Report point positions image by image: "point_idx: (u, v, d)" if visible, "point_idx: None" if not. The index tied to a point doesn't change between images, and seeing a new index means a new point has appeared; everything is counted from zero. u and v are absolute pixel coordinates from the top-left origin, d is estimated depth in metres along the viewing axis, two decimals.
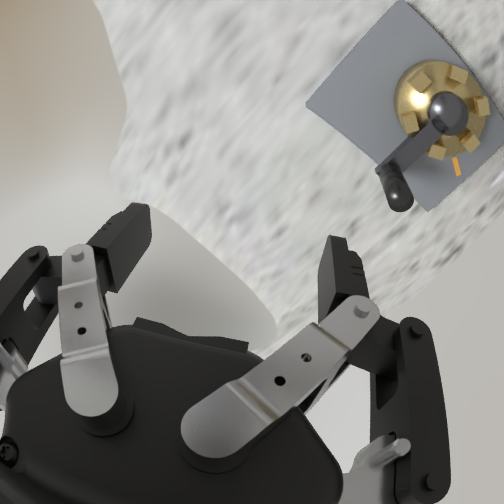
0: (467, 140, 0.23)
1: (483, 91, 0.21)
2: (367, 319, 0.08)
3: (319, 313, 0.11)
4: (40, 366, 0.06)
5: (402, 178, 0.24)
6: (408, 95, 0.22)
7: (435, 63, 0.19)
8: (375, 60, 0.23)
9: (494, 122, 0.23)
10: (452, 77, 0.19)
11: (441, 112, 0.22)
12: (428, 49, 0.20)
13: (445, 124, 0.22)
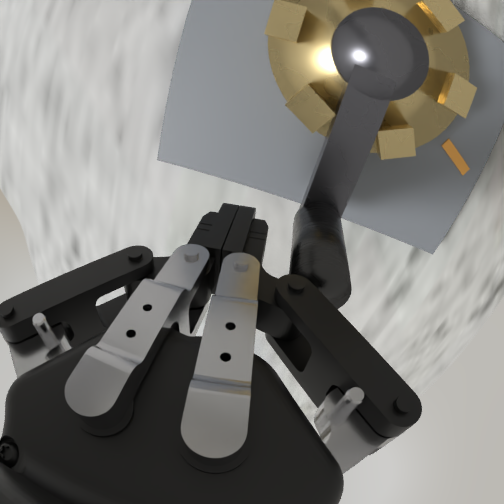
0: (448, 92, 0.10)
1: None
2: (242, 272, 0.09)
3: None
4: (40, 366, 0.06)
5: (321, 234, 0.12)
6: (283, 58, 0.12)
7: None
8: (219, 35, 0.13)
9: (487, 49, 0.10)
10: None
11: (361, 56, 0.10)
12: None
13: (383, 77, 0.10)
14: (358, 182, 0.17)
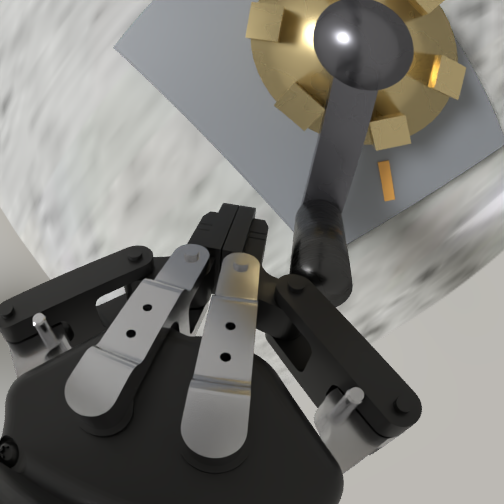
0: (437, 75, 0.10)
1: (457, 45, 0.11)
2: (242, 272, 0.09)
3: None
4: (40, 366, 0.06)
5: (319, 230, 0.12)
6: (267, 60, 0.12)
7: None
8: None
9: (475, 109, 0.13)
10: None
11: (344, 48, 0.10)
12: None
13: (368, 66, 0.10)
14: (277, 152, 0.17)
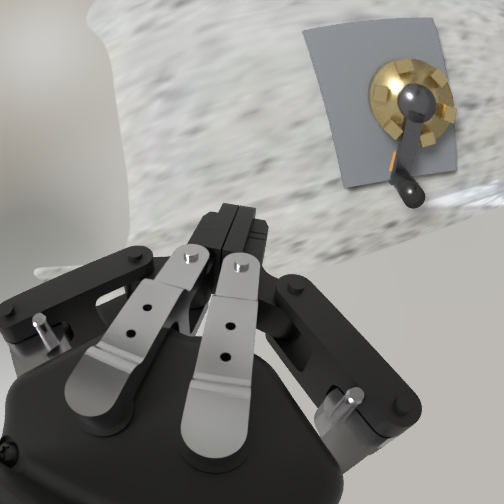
0: (445, 114, 0.25)
1: None
2: (242, 272, 0.09)
3: None
4: (40, 366, 0.06)
5: (408, 178, 0.28)
6: (379, 108, 0.27)
7: (383, 69, 0.25)
8: (381, 36, 0.25)
9: (446, 148, 0.30)
10: (401, 72, 0.24)
11: (410, 106, 0.26)
12: (427, 58, 0.25)
13: (419, 113, 0.26)
14: (353, 126, 0.32)
